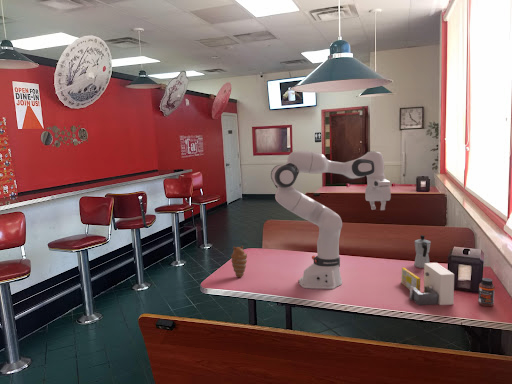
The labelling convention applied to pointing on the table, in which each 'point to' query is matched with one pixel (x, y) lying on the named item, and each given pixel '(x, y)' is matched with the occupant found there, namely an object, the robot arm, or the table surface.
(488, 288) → the supplement bottle
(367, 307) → the table surface
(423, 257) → the coffee maker
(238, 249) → the brown ridged elongated piece
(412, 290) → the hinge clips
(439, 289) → the cabinet
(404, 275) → the candy box
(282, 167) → the robot arm
